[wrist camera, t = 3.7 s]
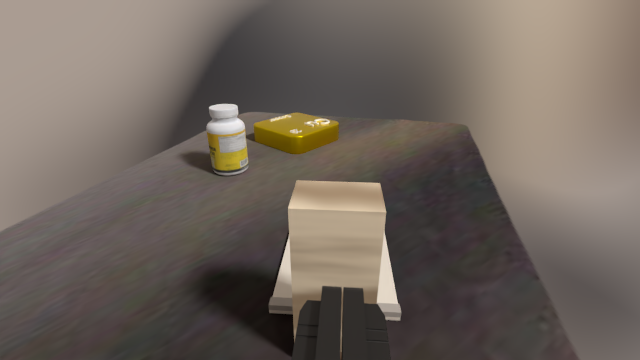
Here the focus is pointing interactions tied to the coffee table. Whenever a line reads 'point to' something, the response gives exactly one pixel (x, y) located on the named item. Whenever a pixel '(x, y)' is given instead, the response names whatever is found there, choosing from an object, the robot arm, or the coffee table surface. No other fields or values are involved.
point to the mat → (385, 296)
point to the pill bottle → (227, 140)
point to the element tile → (296, 132)
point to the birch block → (335, 240)
